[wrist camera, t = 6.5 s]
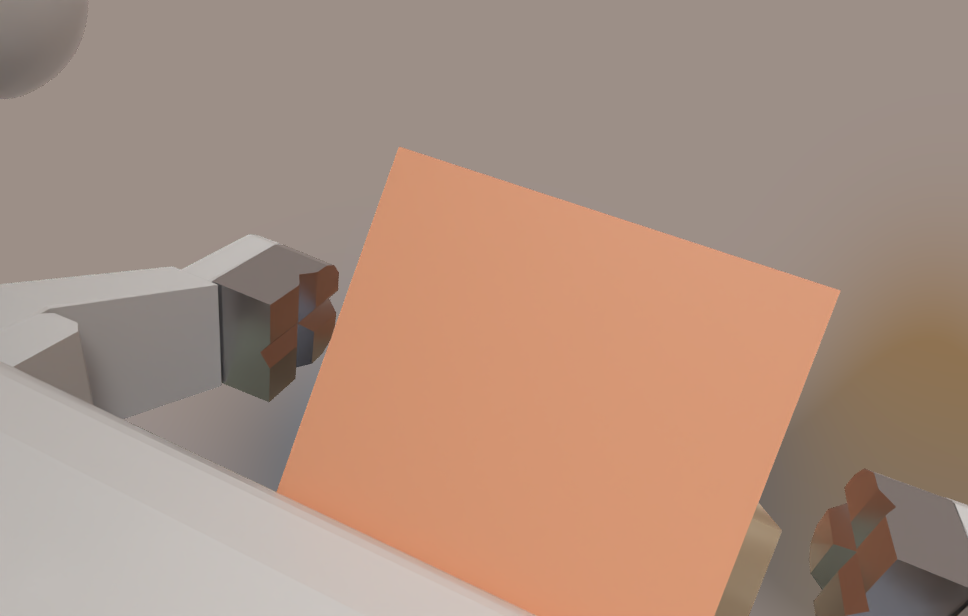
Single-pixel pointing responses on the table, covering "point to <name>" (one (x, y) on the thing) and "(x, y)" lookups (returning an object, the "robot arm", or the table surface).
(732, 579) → the tower
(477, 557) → the salmon square-ended bar
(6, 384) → the robot arm
